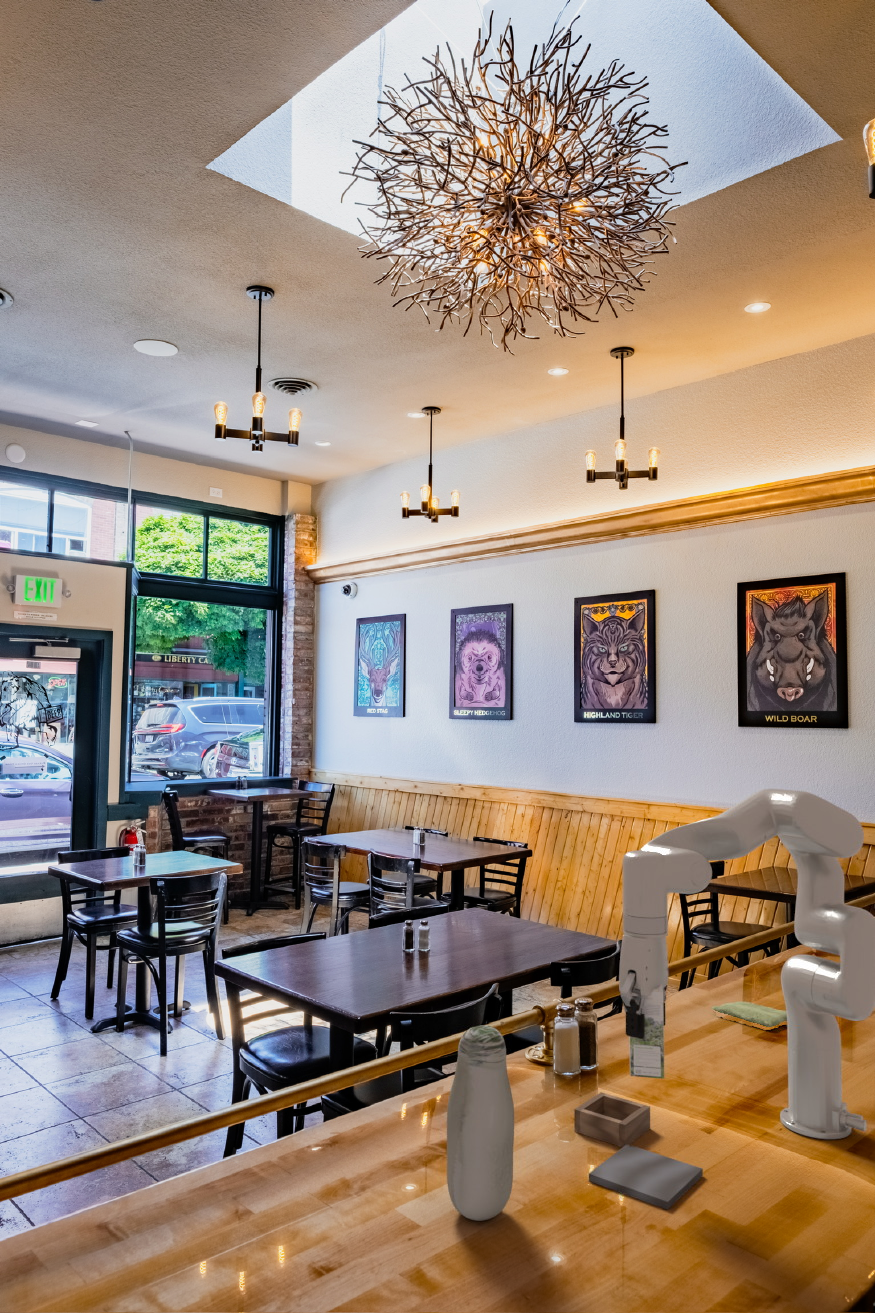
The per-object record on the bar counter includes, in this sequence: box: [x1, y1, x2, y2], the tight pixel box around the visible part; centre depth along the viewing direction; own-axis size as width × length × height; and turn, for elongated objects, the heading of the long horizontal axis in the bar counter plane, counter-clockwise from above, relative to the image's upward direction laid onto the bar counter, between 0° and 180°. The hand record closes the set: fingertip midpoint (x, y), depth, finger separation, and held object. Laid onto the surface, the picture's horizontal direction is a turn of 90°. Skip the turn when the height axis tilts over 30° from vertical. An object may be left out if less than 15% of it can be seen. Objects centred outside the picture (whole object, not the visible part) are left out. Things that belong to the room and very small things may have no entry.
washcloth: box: [711, 1001, 787, 1027], centre depth 236 cm, size 13×18×3 cm
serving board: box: [588, 1144, 704, 1210], centre depth 152 cm, size 14×14×1 cm
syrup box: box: [628, 985, 666, 1080], centre depth 153 cm, size 6×6×14 cm
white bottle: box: [446, 1024, 515, 1222], centre depth 141 cm, size 10×10×28 cm
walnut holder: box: [573, 1091, 651, 1148], centre depth 170 cm, size 10×10×4 cm
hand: (645, 1030), depth 153 cm, fingers closed on syrup box, 7 cm apart
